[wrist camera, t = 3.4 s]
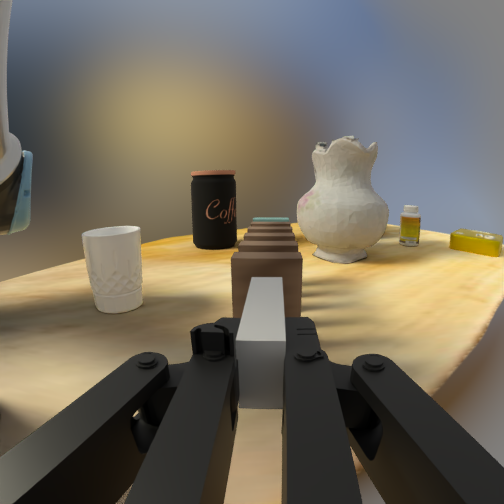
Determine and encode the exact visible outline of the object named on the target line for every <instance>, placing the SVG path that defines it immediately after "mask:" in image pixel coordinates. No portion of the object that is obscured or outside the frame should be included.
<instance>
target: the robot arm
mask: <svg viewBox="0 0 504 504" xmlns="http://www.w3.org/2000/svg"><path fill="white" fill-rule="evenodd" d="M11 6H12V0H0V235H9V234H11V233H13V232H17V231H22V230H25V229H26V228H27V227H28V226H29V223H30V199H31V173H32V172H31V171H32V158H33V155H32V153H31V152H30V151H22V150H21V145H20V142H19V140H18V139H17V137H15V136H14V135H13V134H11V133H9V126H8V111H7V84H6V82H7V79H6V77H7V75H6V74H7V72H6V71H7V44H8V32H9V22H10V13H11ZM190 333H191V342H192V351H193V355H192V357H191V359H190V361H189V362H186V363H180V364H171V365H168V361H167V358H166V357H165V356H164V355H162V354H159V353H153V352H144V353H141V354H137V355H135V356H133V357H131V358H130V359H129V360H127V361H126V362H125V363H123V364H122V365H121V366H119V367H118V368H117V369H116V370H114V371H113V372H112V373H110V374H109V375H108V376H106V377H105V378H104V379H103V380H101V381H100V382H99V383H97V384H96V385H95V386H93V387H92V388H91V389H89V390H88V391H87V392H86V393H84V394H83V395H82V396H80V397H79V398H78V399H76V400H75V401H74V402H72V403H71V404H70V405H69V406H67V407H66V408H65V409H63V410H62V411H61V412H59V413H58V414H57V415H55V416H54V417H53V418H51V419H50V420H49V421H47V422H46V423H45V424H44V425H42V426H41V427H40V428H38V429H37V430H36V431H34V432H33V433H32V434H30V435H29V436H28V437H26V438H25V439H24V440H22V441H21V442H20V443H18V444H17V445H16V446H14V447H13V448H12V449H10V450H9V451H8V452H6V453H5V454H4V455H2V456H1V457H0V504H115V503H116V502H117V501H118V500H119V499H120V498H121V497H122V495H123V494H124V493H125V492H126V491H127V490H128V488H129V487H130V486H131V485H132V484H133V485H132V487H131V490H130V492H129V494H128V496H127V498H126V501H125V503H124V504H223V503H224V498H225V492H226V486H227V480H228V475H229V469H230V463H231V457H232V451H233V445H234V440H235V434H236V428H237V422H238V408H237V407H238V401H239V408H251V409H283V414H282V504H362V499H361V494H360V489H359V485H358V480H357V475H356V470H355V466H354V461H353V457H352V452H351V448H352V449H353V451H354V453H355V454H356V456H357V458H358V459H359V461H360V462H361V464H362V466H363V467H364V469H365V471H366V472H367V474H368V476H369V477H370V479H371V480H372V482H373V484H374V485H375V487H376V489H377V490H378V492H379V494H380V495H381V497H382V498H383V500H384V501H385V503H386V504H504V468H503V467H502V466H501V465H500V464H499V463H498V462H497V461H496V460H495V459H494V458H493V457H492V456H491V455H490V454H489V453H488V452H487V451H486V450H485V449H484V448H483V447H482V446H481V445H480V444H479V443H478V442H477V441H476V440H475V439H474V438H473V437H472V436H471V435H470V434H469V433H467V432H466V430H465V429H464V428H462V427H461V426H460V425H459V424H458V423H457V422H456V421H455V420H454V419H453V418H452V417H451V416H450V415H449V414H448V413H447V412H446V411H445V410H444V409H443V408H442V407H440V406H439V405H438V404H437V403H436V402H435V401H434V400H433V399H432V398H431V397H430V396H429V395H428V394H427V393H426V392H425V391H424V390H423V389H422V388H421V387H419V386H418V385H417V384H416V383H415V382H414V381H413V380H412V379H411V378H410V377H409V376H408V375H407V374H406V373H405V372H404V371H402V370H401V369H400V368H399V367H398V366H397V365H396V364H395V363H394V362H393V361H392V360H390V359H389V358H387V357H385V356H382V355H379V354H366V355H362V356H359V357H357V358H356V359H354V360H353V364H352V366H347V365H340V364H336V363H333V362H331V361H329V359H328V356H327V354H326V353H325V352H324V351H323V350H321V347H320V343H319V339H318V335H317V331H316V328H315V324H314V322H313V321H312V320H311V319H309V318H308V317H285V315H284V299H283V283H282V277H252V278H251V282H250V286H249V290H248V294H247V298H246V302H245V306H244V310H243V313H242V317H241V318H220V319H219V320H218V321H216V322H215V323H207V324H202V325H199V326H197V327H194V328H193V329H192V330H191V331H190ZM137 410H138V412H139V413H138V414H137V415H136V416H134V417H133V415H134V413H135V412H136V411H137ZM350 446H351V448H350Z"/></svg>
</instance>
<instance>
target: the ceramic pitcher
mask: <svg viewBox="0 0 504 504" xmlns="http://www.w3.org/2000/svg"><path fill="white" fill-rule="evenodd" d="M318 143H319V144H317V145H316V146H315V147H316V150H314V152H313V153H312V161H313V163H314V173H315V177H316V183H315V185H314V187H313V188H312V189H311V190H310V191H309V192H308V193H306V194H305V195H304V196H303V197H302V198H301V199H300V200H299V202H298V205H297V219H298V225H299V227H300V229H301V231H302V233H303V234H304V236H305V237H306V239H307V240H308V241H310V242H311V243H313V244H316V245H318V248H317V249H316V251H315V252H314V253H313V254H312V255H315V256H317V257H320V258H322V259H325V260H327V261H330V262H334V263H352V262H354V261H357V260H359V259H362V258H366V257H367V253H366V251H365V250H364V249H365V248H366V247H370V246H373V245H374V244H375V243H376V242H377V241H378V240H379V239H380V238H381V236H382V235H383V233H384V232H385V229H386V226H387V222H388V216H389V210H388V206H387V204H386V203H385V202H384V200H383V199H382V198H381V197H380V196H379V195H378V194H377V193H376V192H375V191H374V190H373V188H372V186H371V181H370V177H371V170H372V167H373V164H374V162H375V160H376V158H377V150H378V146H377V142H374V143H372V144H371V146H370V147H369V148H368V149H367V148H364V146H363V145H362V144H361V143H359V142H358V139H354V136H344V137H343V138H341V139H338V140H332V144H331V145H330V147H329V149H328V147H327V143H326V142H324V143H323V142H318Z"/></svg>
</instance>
